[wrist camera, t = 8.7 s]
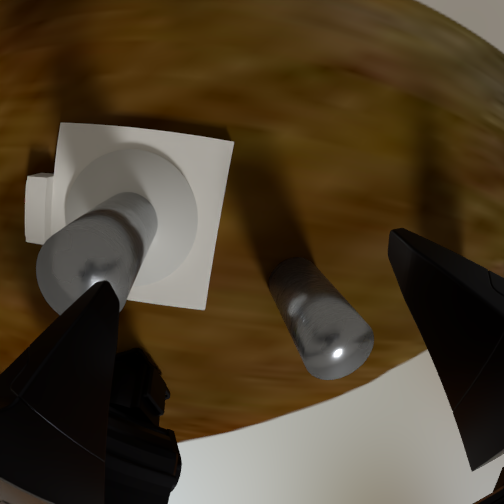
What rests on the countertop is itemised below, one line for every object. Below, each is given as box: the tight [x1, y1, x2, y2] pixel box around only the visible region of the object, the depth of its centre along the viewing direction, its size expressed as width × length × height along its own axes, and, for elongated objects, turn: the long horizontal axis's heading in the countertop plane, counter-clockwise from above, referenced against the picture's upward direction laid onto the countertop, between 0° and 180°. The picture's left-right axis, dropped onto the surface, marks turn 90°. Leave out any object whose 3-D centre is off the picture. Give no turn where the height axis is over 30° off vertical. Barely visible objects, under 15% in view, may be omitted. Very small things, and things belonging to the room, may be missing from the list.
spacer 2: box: [269, 257, 374, 380], centre depth 22 cm, size 4×4×10 cm
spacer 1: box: [36, 192, 158, 315], centre depth 16 cm, size 4×4×10 cm
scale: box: [25, 123, 234, 310], centre depth 21 cm, size 13×15×2 cm
